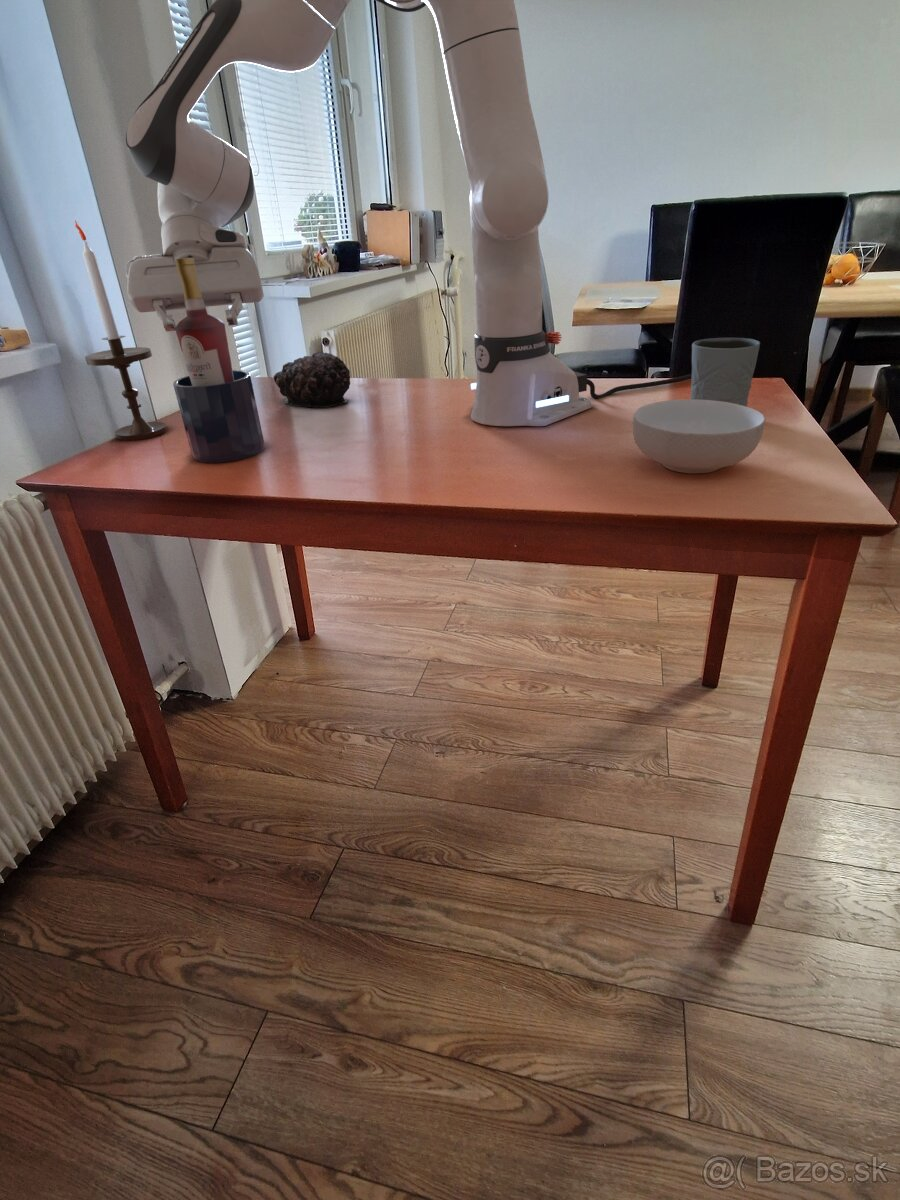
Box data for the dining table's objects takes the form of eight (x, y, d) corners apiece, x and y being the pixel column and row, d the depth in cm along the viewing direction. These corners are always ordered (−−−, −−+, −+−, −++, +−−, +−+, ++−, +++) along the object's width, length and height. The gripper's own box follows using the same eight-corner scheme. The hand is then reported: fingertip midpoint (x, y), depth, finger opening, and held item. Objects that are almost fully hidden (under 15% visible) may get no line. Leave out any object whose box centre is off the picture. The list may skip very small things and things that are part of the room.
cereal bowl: (692, 496, 84) (699, 440, 80) (605, 461, 96) (607, 412, 93) (784, 467, 90) (795, 415, 87) (691, 438, 103) (697, 392, 99)
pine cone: (289, 395, 145) (281, 347, 140) (361, 398, 139) (355, 347, 134) (261, 408, 137) (251, 357, 132) (336, 411, 131) (328, 358, 125)
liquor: (258, 439, 114) (219, 255, 99) (234, 453, 108) (189, 259, 93) (222, 438, 116) (179, 257, 102) (196, 451, 110) (146, 261, 96)
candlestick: (98, 439, 124) (26, 223, 106) (145, 423, 132) (85, 220, 114) (138, 444, 119) (70, 219, 101) (184, 427, 127) (128, 216, 110)
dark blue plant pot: (251, 436, 119) (236, 366, 113) (275, 451, 111) (260, 377, 104) (184, 451, 114) (165, 379, 108) (204, 468, 105) (184, 390, 99)
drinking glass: (727, 430, 105) (739, 350, 99) (671, 419, 112) (679, 344, 106) (759, 415, 111) (772, 339, 105) (704, 406, 118) (713, 334, 112)
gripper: (117, 242, 102) (123, 318, 99) (252, 232, 106) (263, 305, 102) (131, 272, 108) (138, 345, 105) (259, 262, 112) (270, 332, 108)
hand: (201, 325), depth 104 cm, fingers open, 8 cm apart
